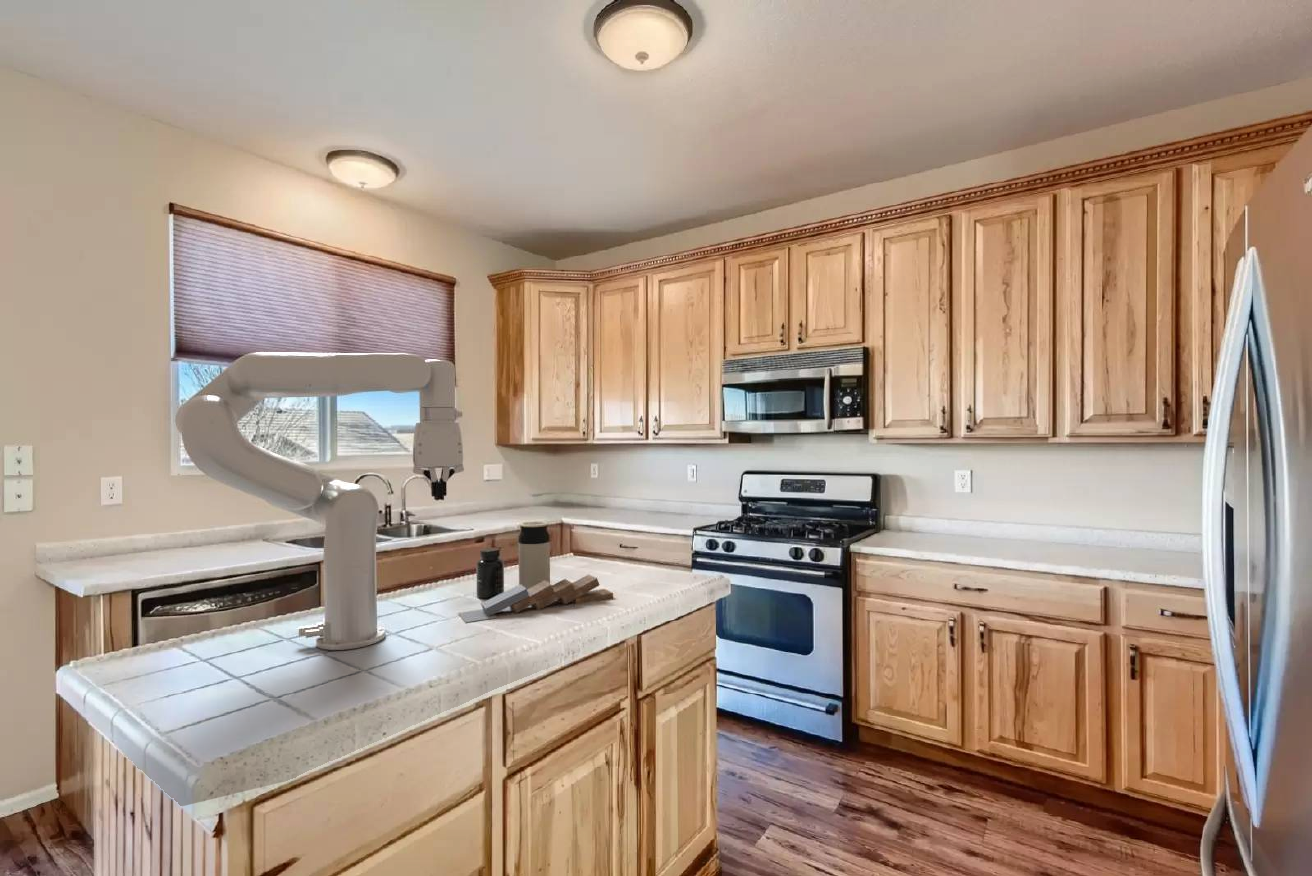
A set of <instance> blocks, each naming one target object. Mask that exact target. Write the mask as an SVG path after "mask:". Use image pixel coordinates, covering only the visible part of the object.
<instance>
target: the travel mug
mask: <svg viewBox="0 0 1312 876" xmlns="http://www.w3.org/2000/svg"><path fill="white" fill-rule="evenodd" d="M548 525H549V522H547V521H541V520H537V521H536V520H534V521H533V520H532V521H531V520H530V521H524V522H520V523H519V527H520V533H519V534H518V536H517V537H518V539H517V540H518V585H520V584H521V585H522V586H524V587H525V588H526V589H527V590H528V589H529V588H531V587H533V586H535V585H537V584H538V583H540V582H542V581H544V580H545V581H547V582H548V583H550V584H551V555H550V554H551V552H550V551H551V547H550V545H551V542H550V538H551V537H550V534H549V532H548Z"/></svg>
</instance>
